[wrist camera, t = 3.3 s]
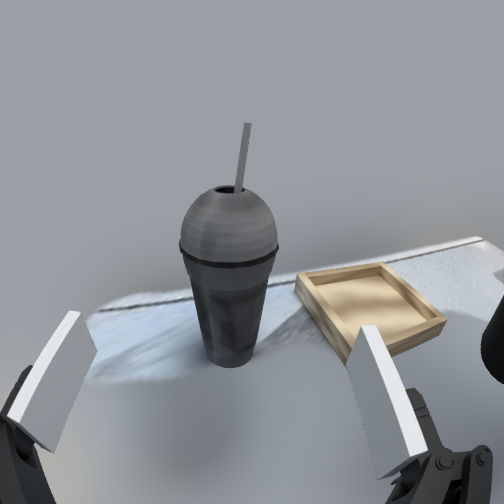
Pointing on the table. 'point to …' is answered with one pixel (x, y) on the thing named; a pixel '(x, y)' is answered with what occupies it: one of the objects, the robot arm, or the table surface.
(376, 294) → the tray
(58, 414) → the robot arm
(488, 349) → the coffee jar
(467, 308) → the table surface
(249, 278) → the beverage cup
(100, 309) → the table surface
